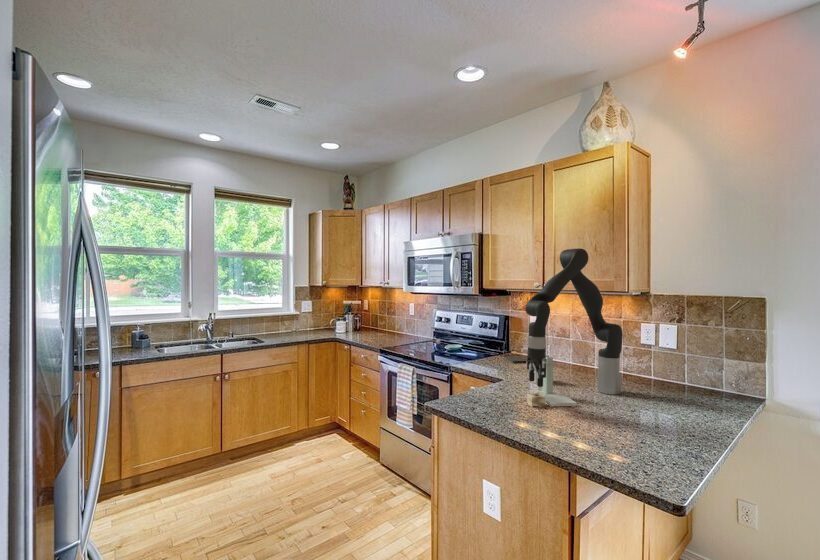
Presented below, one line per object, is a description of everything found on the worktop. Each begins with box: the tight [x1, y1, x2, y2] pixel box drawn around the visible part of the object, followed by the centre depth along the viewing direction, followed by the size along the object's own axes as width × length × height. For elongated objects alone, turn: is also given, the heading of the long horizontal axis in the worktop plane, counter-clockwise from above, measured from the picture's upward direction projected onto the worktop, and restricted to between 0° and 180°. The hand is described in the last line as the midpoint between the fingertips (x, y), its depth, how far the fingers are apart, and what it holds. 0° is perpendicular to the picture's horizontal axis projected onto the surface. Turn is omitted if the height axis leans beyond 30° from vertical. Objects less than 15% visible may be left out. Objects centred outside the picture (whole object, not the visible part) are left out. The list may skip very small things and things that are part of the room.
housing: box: [526, 392, 546, 407], centre depth 168 cm, size 6×5×5 cm
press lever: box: [505, 355, 551, 365], centre depth 180 cm, size 20×10×2 cm, turn 96°
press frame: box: [538, 355, 578, 407], centre depth 175 cm, size 12×18×18 cm, turn 6°
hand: (535, 383), depth 168 cm, fingers open, 8 cm apart
